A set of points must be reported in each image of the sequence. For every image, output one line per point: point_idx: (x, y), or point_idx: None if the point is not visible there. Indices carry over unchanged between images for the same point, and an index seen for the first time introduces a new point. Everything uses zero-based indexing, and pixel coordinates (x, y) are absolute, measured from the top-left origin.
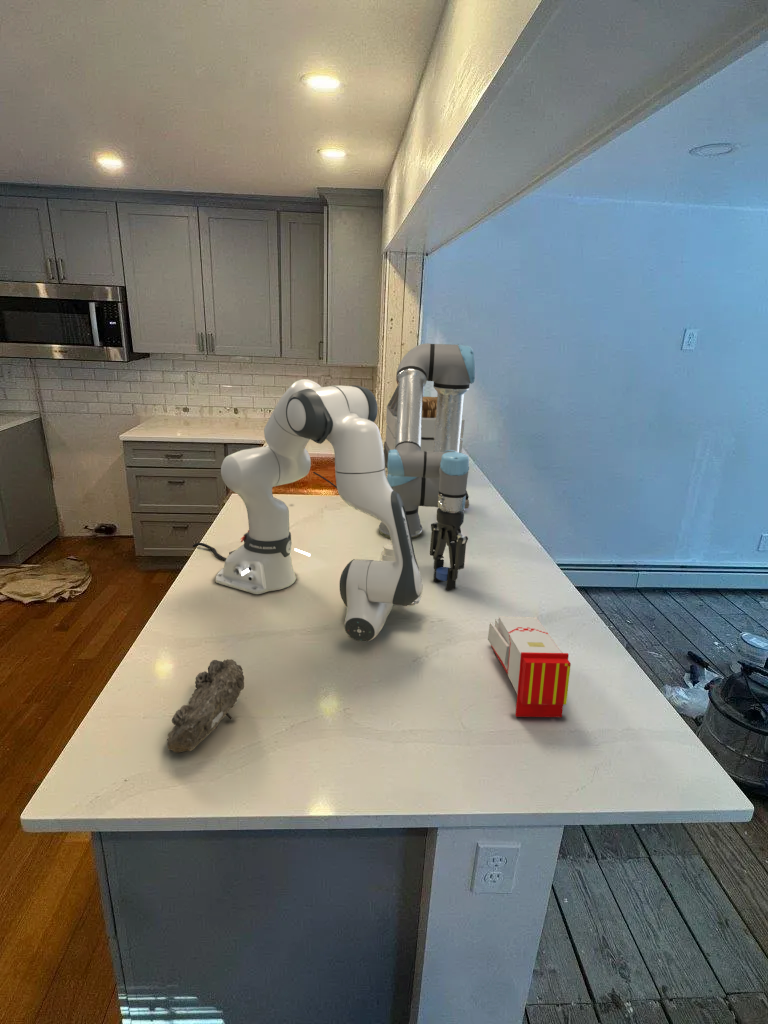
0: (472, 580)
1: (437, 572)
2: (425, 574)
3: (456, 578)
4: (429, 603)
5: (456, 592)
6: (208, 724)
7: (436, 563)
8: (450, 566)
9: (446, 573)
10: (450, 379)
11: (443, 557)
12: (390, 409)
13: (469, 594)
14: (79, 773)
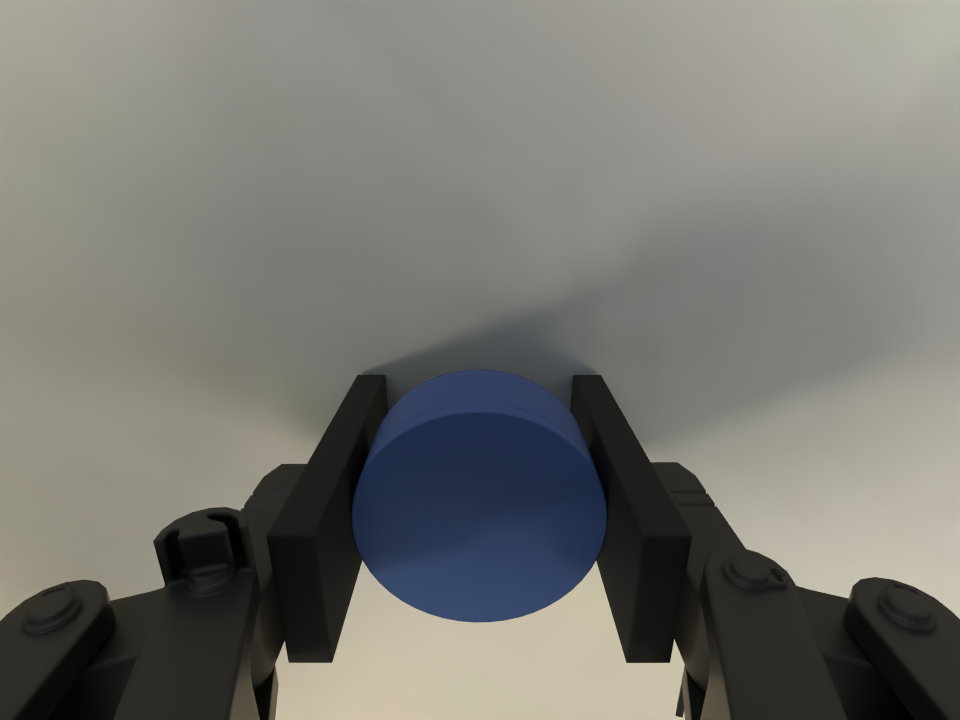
0: (559, 32)
1: (460, 612)
2: (192, 435)
3: (690, 482)
4: (663, 677)
5: (665, 409)
6: None
7: (336, 636)
8: (690, 705)
9: (561, 563)
10: None
11: (248, 533)
12: None
13: (779, 325)
14: None
